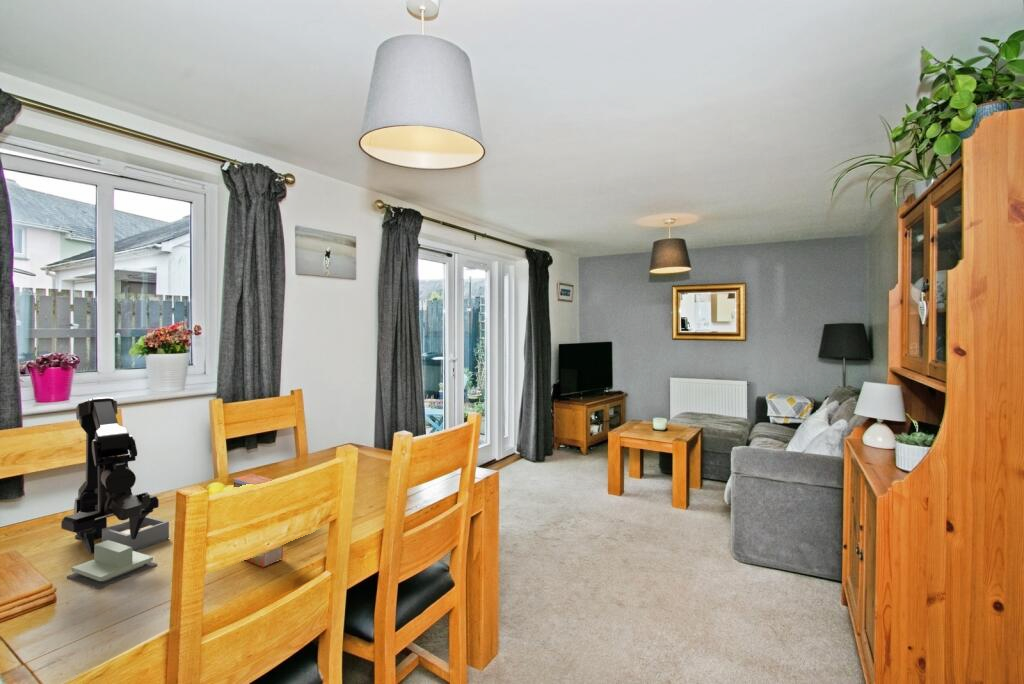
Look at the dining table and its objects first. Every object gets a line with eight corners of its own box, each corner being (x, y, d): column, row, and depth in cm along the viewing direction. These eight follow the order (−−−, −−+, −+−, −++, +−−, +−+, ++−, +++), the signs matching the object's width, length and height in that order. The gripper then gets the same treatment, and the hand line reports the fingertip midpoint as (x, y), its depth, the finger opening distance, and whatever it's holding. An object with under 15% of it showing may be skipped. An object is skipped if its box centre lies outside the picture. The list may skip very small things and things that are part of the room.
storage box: (102, 546, 139) (101, 528, 138) (144, 532, 149) (144, 515, 148) (126, 554, 134) (126, 535, 134) (168, 538, 144) (168, 521, 144)
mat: (66, 577, 122) (66, 576, 122) (125, 555, 134) (125, 554, 134) (98, 589, 116) (98, 587, 116) (157, 565, 128) (157, 563, 128)
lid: (71, 575, 122) (71, 550, 122) (124, 555, 133) (124, 533, 132) (100, 585, 117) (100, 560, 117) (152, 564, 128) (152, 541, 128)
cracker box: (284, 559, 133) (284, 481, 132) (262, 569, 128) (262, 487, 127) (254, 546, 140) (254, 472, 140) (232, 554, 135) (232, 477, 134)
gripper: (87, 500, 113) (88, 569, 113) (172, 477, 130) (172, 537, 130) (59, 493, 117) (60, 559, 117) (145, 472, 134) (145, 530, 135)
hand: (113, 546), depth 125 cm, fingers open, 9 cm apart
